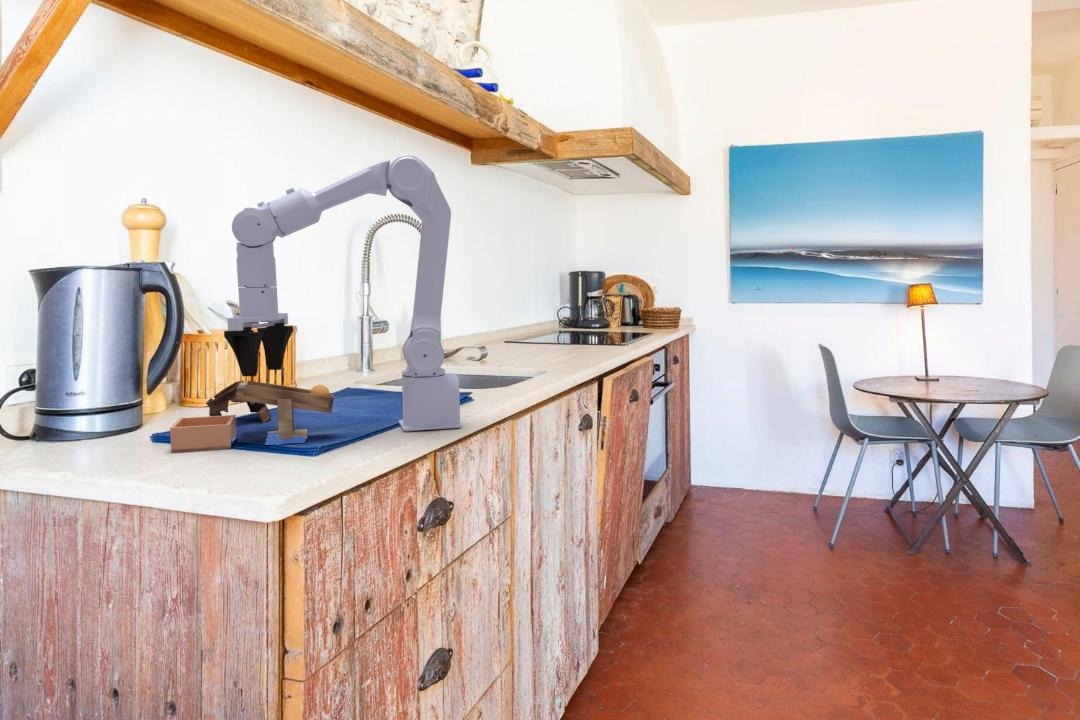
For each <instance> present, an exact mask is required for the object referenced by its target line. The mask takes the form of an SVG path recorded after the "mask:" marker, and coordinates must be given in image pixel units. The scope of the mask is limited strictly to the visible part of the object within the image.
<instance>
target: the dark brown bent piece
mask: <svg viewBox="0 0 1080 720" xmlns="http://www.w3.org/2000/svg"><path fill="white" fill-rule="evenodd" d="M241 383H245V382H244V380H241V379H240V380H238V381H235V382H233V383H232V384H230V385H228V386H227V387H225V388H224V389H222V390H220V391H219V392H217V393H216V394H215V395H213V398H214V399H213V398H209V399H208V400H207V401H206V403H205V404H206V406H207V407H208V408H209V411H208V414H209V415H208V416H223V414H222V413H221V412H225V413H229V402H231V403H246V405H247V407H248V409H249V412H250V413H251V414H252V413H257V415H258V416H259V417H260V422H261V423H262V422H265V421H266V422H268V421H269V420H270V418H272V415H271V414H270V409H269V407H268V406H267V404H263V403H256V402H249V401H242V400H235V398H236V394H235V392H236V388H237V387H238V386H239V384H241ZM266 422H265V423H266Z"/></svg>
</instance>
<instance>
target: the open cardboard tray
mask: <svg viewBox="0 0 1080 720" xmlns="http://www.w3.org/2000/svg"><path fill="white" fill-rule="evenodd" d="M236 419H237V418H236V414H231V415H229V414H228V415H222V416H209V415H208V416H193V417H180V418H178V419H177V420H176V421H175V422H174V423H173V424H172V425H171V427H170V428H169V434H170V448H171V452H170V453H171V454H172V453H183V452H199V451H212V450H213V451H215V450H228V449H229V450H230V449H232V448H231V441H232V439H233V438H234V436H235V435H236V434H237V420H236Z"/></svg>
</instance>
